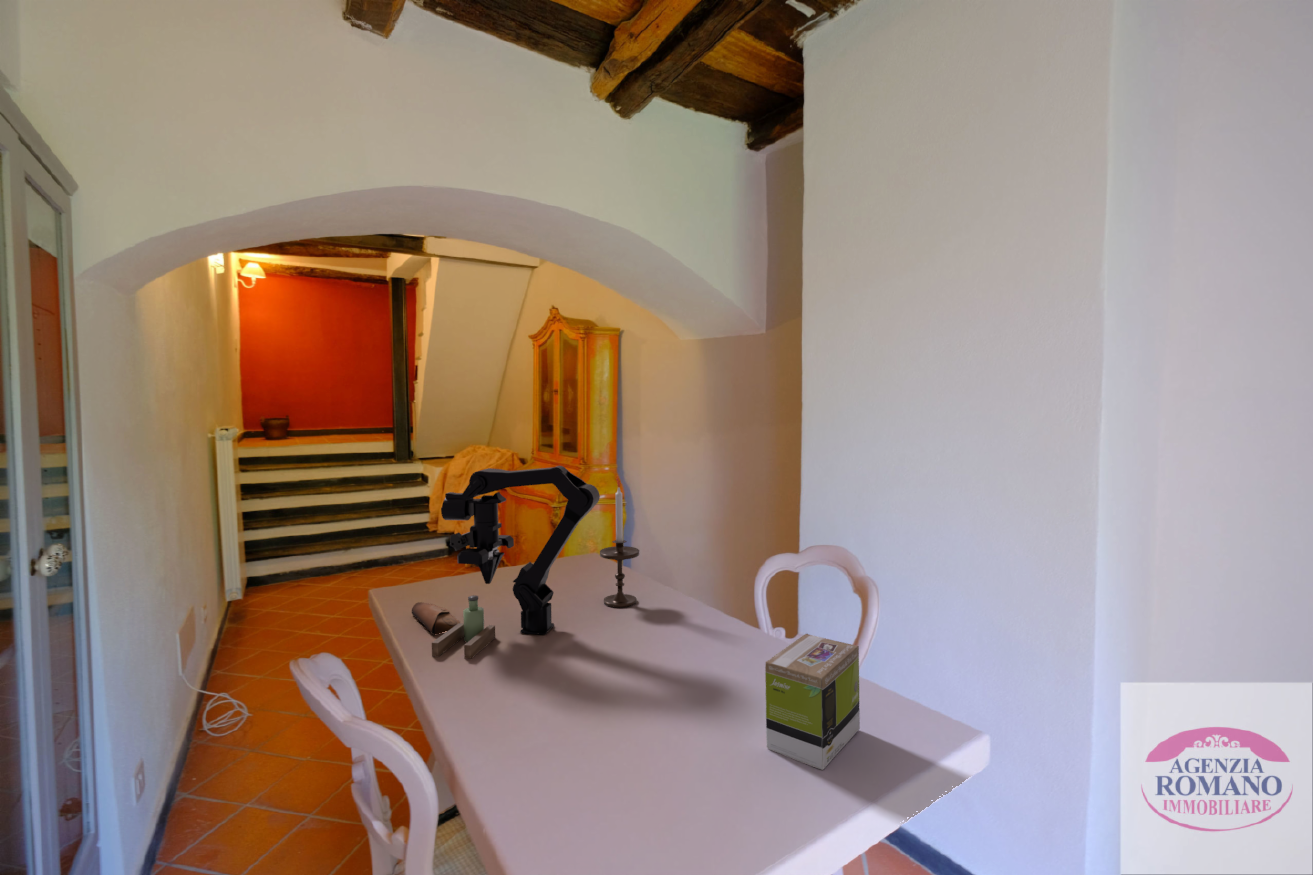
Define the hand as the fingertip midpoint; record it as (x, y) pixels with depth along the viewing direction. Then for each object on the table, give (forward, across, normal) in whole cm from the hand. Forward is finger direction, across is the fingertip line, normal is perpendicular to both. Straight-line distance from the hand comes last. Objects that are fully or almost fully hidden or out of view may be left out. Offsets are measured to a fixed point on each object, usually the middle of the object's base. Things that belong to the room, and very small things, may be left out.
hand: (488, 583), depth 150 cm
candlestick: (+11, -24, +27) cm, 38 cm away
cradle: (+11, +12, 0) cm, 16 cm away
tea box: (+12, +38, +75) cm, 85 cm away
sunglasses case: (+12, -2, -15) cm, 19 cm away
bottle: (+11, +8, 0) cm, 13 cm away
